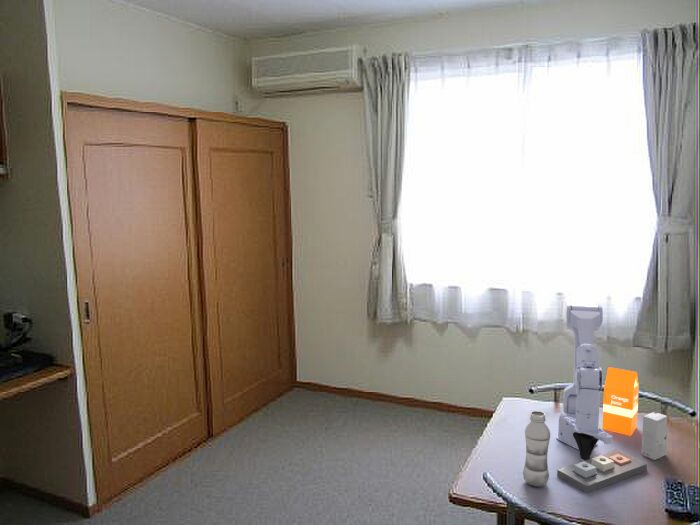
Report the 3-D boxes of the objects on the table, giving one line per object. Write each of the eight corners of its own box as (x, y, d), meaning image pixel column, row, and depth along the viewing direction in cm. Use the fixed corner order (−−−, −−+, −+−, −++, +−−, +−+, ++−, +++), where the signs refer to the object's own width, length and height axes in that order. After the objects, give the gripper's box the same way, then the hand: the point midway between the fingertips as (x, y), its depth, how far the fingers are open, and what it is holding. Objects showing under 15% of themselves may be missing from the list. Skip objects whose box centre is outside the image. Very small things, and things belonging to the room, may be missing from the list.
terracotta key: (608, 463, 165) (608, 456, 165) (617, 460, 167) (618, 453, 167) (620, 469, 162) (620, 462, 161) (630, 466, 164) (630, 459, 163)
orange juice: (608, 420, 195) (611, 363, 192) (636, 427, 190) (640, 368, 187) (601, 428, 189) (604, 370, 186) (631, 436, 184) (634, 375, 181)
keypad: (557, 476, 160) (557, 469, 160) (615, 455, 171) (616, 449, 171) (586, 493, 151) (586, 486, 151) (646, 470, 162) (647, 463, 162)
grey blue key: (573, 471, 159) (574, 464, 158) (583, 467, 160) (584, 460, 160) (585, 478, 155) (585, 470, 155) (595, 474, 157) (596, 466, 157)
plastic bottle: (528, 474, 161) (530, 406, 158) (552, 482, 157) (554, 412, 154) (518, 484, 156) (520, 414, 153) (543, 492, 152) (545, 420, 149)
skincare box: (655, 460, 168) (657, 421, 166) (640, 454, 171) (642, 416, 170) (666, 454, 171) (669, 415, 169) (651, 449, 175) (653, 411, 173)
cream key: (591, 465, 162) (591, 458, 162) (601, 461, 164) (601, 454, 163) (603, 471, 158) (603, 464, 158) (613, 467, 160) (613, 460, 160)
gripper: (555, 404, 160) (554, 451, 162) (599, 424, 147) (597, 474, 149) (573, 400, 163) (572, 445, 165) (618, 418, 150) (616, 467, 152)
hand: (585, 458), depth 157 cm, fingers closed
